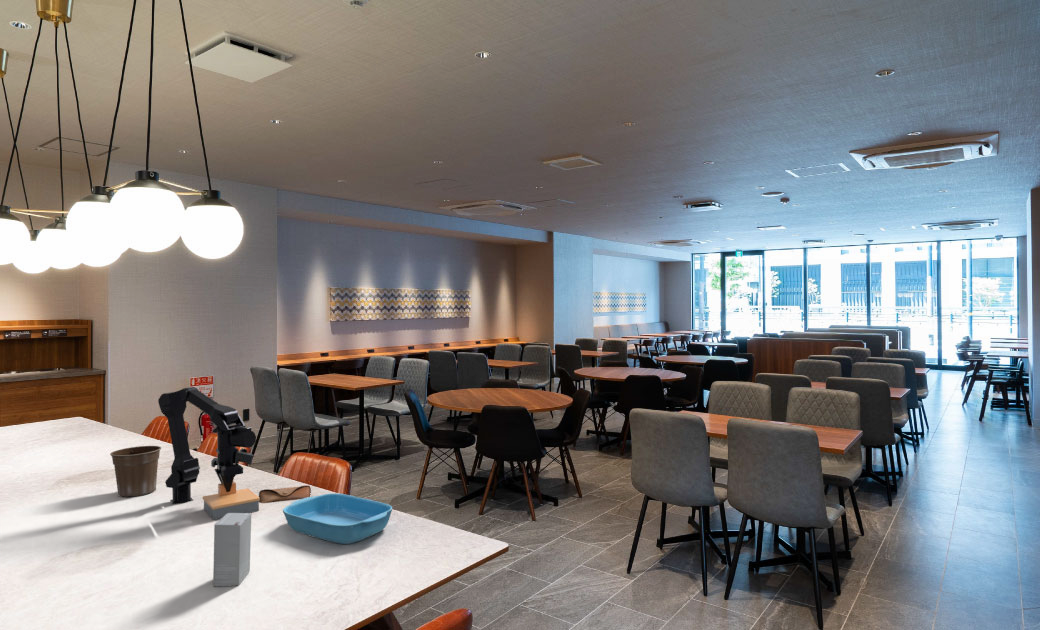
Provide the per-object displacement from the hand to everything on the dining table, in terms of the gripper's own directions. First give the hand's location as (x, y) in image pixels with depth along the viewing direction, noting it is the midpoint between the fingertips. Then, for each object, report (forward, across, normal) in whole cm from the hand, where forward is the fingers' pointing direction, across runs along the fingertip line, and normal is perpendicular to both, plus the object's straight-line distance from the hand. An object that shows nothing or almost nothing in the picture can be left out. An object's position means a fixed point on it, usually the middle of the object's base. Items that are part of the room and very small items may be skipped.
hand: (227, 490), depth 209 cm
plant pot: (+6, +42, +22) cm, 48 cm away
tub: (+6, -5, 0) cm, 8 cm away
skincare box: (+6, -62, +13) cm, 64 cm away
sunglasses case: (+7, -4, -18) cm, 20 cm away
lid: (+2, -5, 0) cm, 6 cm away
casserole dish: (+6, -45, -21) cm, 50 cm away
